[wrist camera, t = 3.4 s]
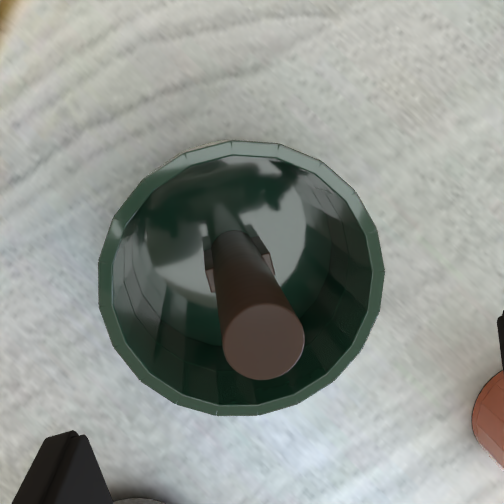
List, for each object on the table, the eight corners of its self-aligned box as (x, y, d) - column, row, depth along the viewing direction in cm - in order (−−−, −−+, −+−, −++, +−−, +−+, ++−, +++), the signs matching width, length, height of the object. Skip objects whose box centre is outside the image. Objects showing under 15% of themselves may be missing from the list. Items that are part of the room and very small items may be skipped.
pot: (160, 374, 28) (149, 448, 21) (92, 173, 25) (55, 186, 18) (355, 318, 29) (404, 373, 22) (313, 115, 26) (354, 107, 19)
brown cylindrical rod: (212, 282, 27) (225, 393, 15) (199, 238, 26) (203, 319, 14) (267, 267, 27) (321, 365, 15) (255, 223, 26) (304, 291, 15)
